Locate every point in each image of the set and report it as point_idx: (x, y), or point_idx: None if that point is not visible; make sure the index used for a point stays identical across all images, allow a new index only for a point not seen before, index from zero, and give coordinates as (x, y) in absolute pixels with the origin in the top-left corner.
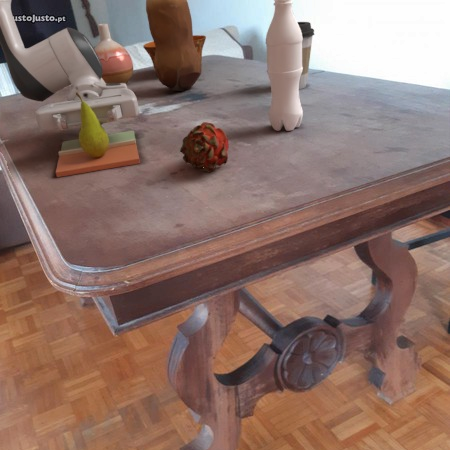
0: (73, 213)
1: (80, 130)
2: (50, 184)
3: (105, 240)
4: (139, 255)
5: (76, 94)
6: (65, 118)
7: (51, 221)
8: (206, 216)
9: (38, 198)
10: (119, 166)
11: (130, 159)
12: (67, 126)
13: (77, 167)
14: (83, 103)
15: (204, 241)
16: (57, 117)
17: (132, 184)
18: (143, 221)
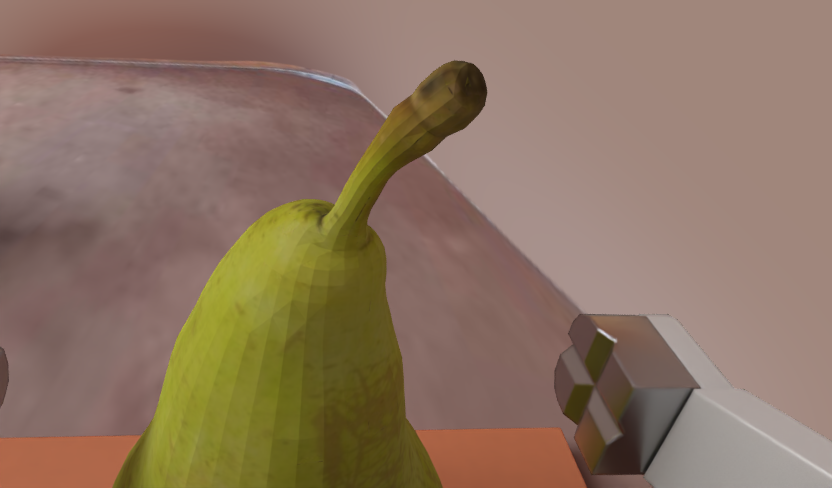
0: None
1: (421, 457)
2: (546, 376)
3: (291, 104)
4: (236, 73)
5: (467, 100)
6: (614, 365)
7: (427, 173)
8: (50, 89)
9: (533, 280)
10: None
11: (32, 443)
12: (578, 426)
13: (434, 451)
14: (323, 201)
15: (112, 61)
16: (764, 411)
17: (152, 250)
18: (197, 115)
